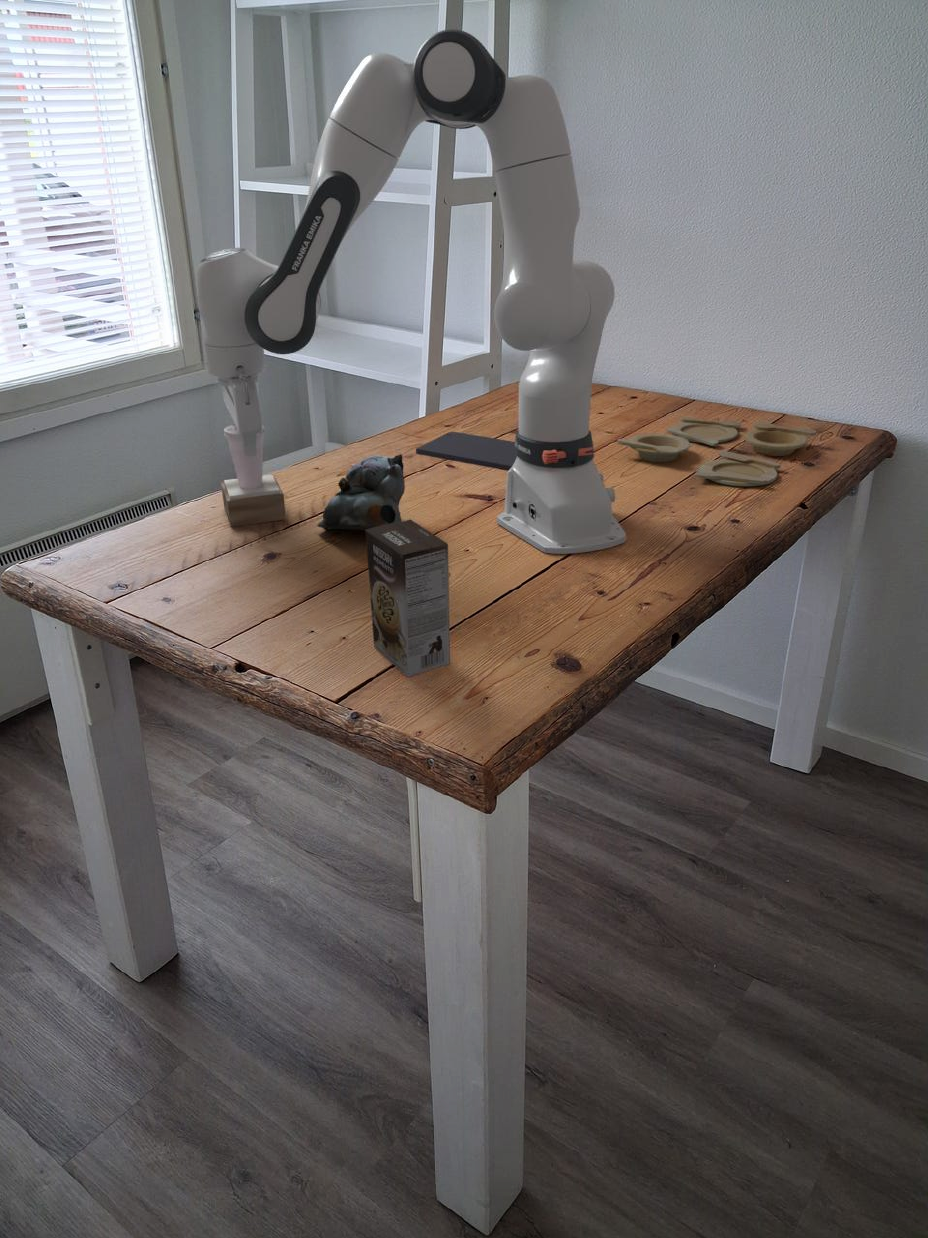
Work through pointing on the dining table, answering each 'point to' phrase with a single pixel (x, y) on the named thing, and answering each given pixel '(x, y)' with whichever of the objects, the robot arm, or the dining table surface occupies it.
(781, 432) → the tableware set
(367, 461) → the grey lumpy figure
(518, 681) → the dining table surface
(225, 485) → the pedestal
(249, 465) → the smoothie
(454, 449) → the notebook
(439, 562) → the coffee box
